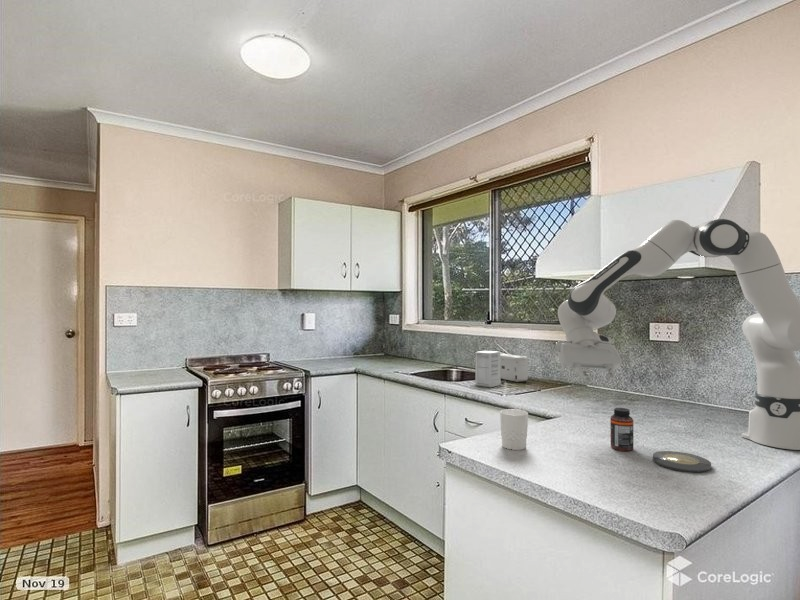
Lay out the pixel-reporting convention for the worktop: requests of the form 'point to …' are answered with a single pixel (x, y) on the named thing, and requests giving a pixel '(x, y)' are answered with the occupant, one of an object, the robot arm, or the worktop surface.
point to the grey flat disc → (681, 461)
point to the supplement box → (487, 368)
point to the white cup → (514, 428)
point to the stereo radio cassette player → (513, 367)
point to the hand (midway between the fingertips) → (597, 378)
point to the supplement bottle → (621, 430)
